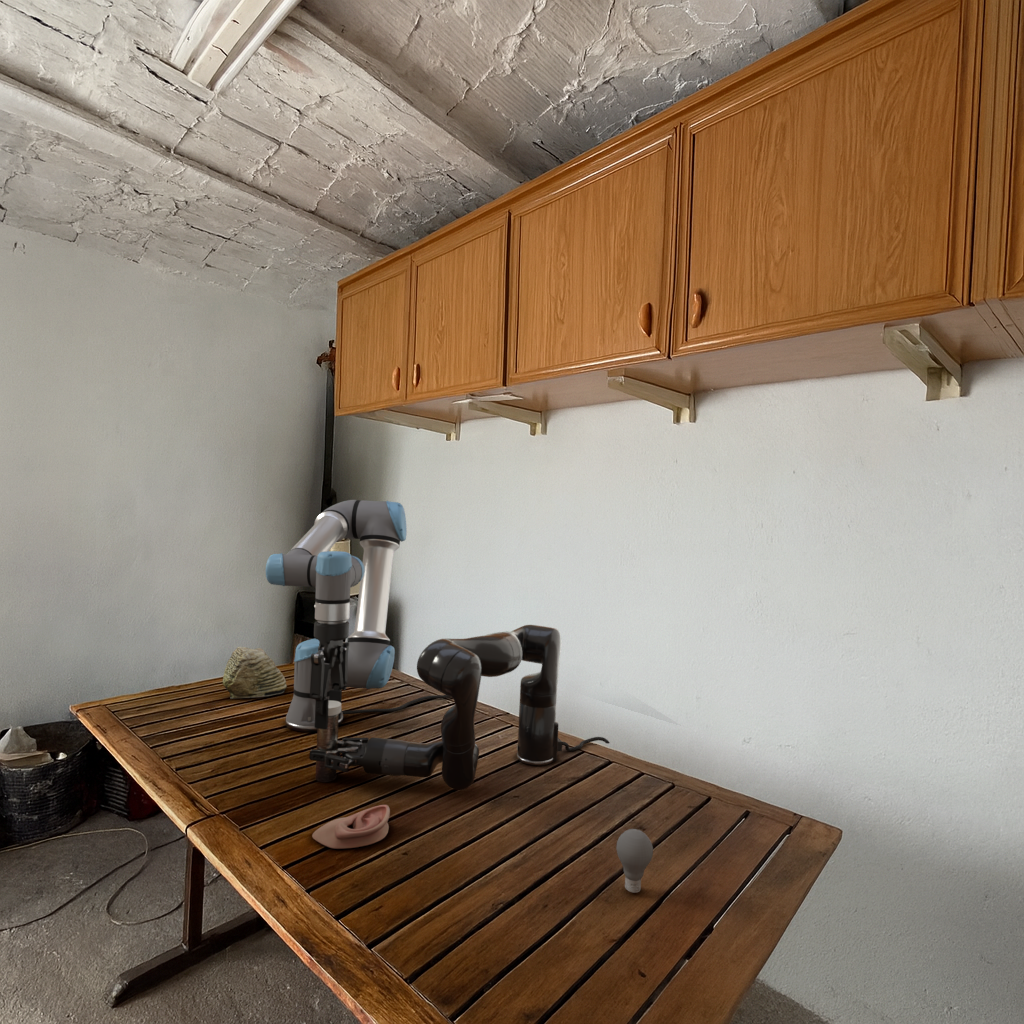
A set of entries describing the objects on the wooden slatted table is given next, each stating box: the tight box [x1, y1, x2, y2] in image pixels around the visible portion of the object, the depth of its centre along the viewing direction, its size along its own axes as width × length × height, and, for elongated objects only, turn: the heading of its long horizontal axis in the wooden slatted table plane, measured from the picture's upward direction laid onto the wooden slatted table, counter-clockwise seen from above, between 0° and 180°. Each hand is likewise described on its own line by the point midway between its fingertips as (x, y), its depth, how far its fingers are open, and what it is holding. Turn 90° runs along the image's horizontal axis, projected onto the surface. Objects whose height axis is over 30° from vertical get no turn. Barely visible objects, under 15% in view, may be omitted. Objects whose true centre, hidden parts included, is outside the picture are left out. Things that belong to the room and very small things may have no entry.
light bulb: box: [615, 828, 654, 894], centre depth 106 cm, size 6×6×10 cm
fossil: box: [222, 646, 288, 699], centre depth 198 cm, size 9×18×15 cm, turn 132°
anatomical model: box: [311, 804, 391, 850], centre depth 119 cm, size 13×4×12 cm
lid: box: [328, 700, 342, 716], centre depth 142 cm, size 6×6×2 cm
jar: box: [315, 714, 339, 783], centre depth 143 cm, size 4×4×16 cm
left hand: (327, 723), depth 142 cm, fingers closed on lid, 5 cm apart
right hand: (315, 750), depth 143 cm, fingers closed on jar, 4 cm apart
